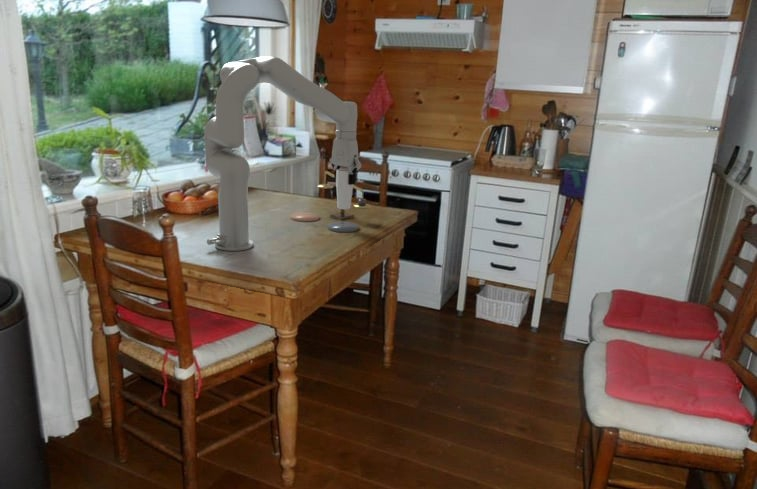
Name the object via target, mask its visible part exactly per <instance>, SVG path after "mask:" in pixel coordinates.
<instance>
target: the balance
mask: <svg viewBox="0 0 757 489" xmlns="http://www.w3.org/2000/svg"><path fill="white" fill-rule="evenodd" d="M326 175H328V176H330V177H332V178H334V174H333V173H332V172H330V171H328V170H324V183H319V184H317V185H316V188H318V189H326V190H330V189H333V188H334V185H333V184H330V183H329V184H328V183H326V180H327V179H326V178H327V176H326ZM353 189H355V190H357V191H359V192H361V198H359V199H358V200H357V202H358V203H354V204H352V207H353V208H355V209H361V210H364V209H365V210H367V209H370V208H371V204H369V203H367V199H366V198H364V189H363V188H361V187H359V186H357V185H355V184H353ZM345 211H346V210H344V209H339V212H337V213H331V214H330V218H331V219H335V220H339V221H343V220H347V219H348V220H349V219H352V218H355V214H353V213H350V212H345Z"/></svg>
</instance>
